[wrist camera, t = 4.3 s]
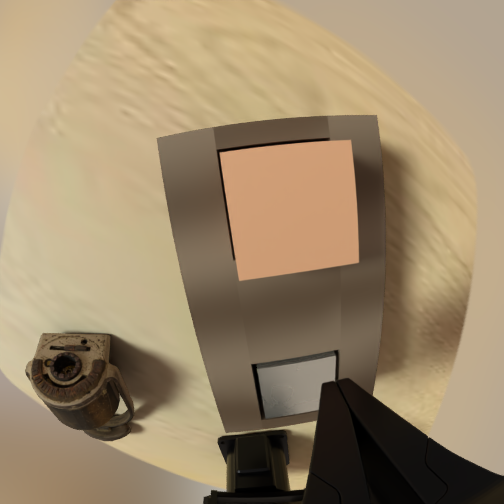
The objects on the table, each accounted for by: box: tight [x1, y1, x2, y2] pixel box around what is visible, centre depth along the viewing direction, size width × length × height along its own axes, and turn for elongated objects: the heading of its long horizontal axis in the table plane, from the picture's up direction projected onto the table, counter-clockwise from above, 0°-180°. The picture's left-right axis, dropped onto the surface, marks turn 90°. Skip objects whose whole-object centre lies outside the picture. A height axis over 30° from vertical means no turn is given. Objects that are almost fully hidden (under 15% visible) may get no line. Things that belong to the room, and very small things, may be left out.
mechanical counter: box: [25, 333, 134, 441], centre depth 18 cm, size 7×13×10 cm
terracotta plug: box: [220, 140, 359, 281], centre depth 12 cm, size 4×4×5 cm
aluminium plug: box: [257, 351, 336, 419], centre depth 18 cm, size 4×4×5 cm
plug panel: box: [157, 115, 386, 433], centre depth 17 cm, size 18×10×5 cm, turn 8°
